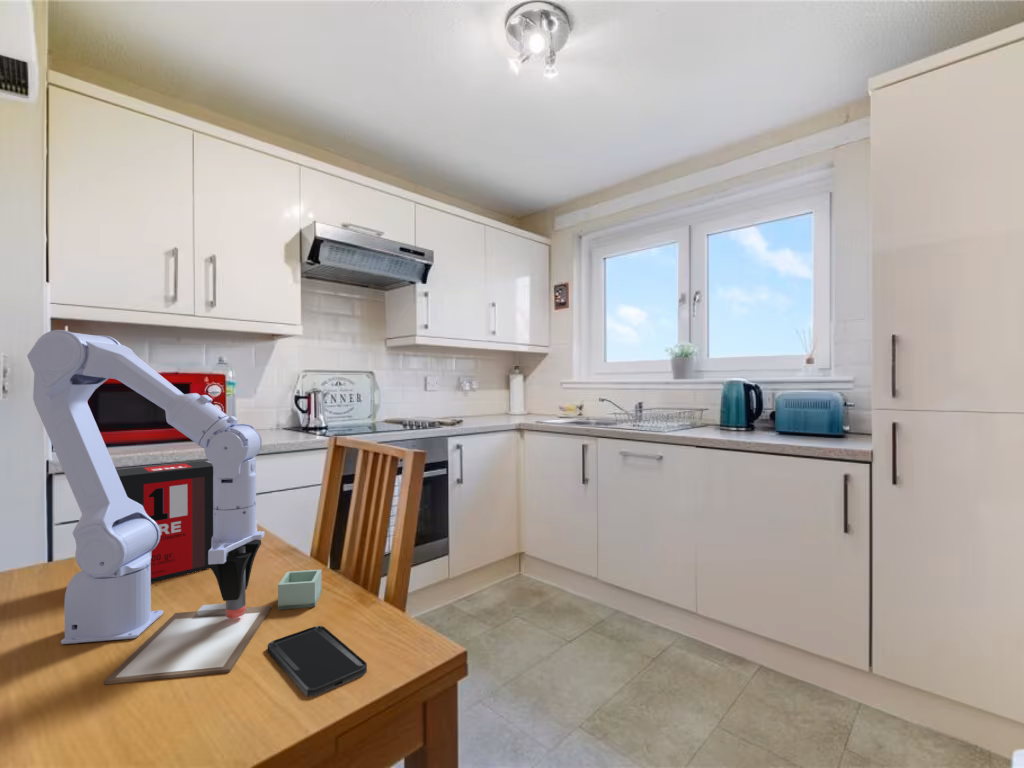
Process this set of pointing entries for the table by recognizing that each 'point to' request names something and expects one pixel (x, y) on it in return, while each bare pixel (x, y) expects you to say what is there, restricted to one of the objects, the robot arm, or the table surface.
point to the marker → (238, 606)
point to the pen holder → (299, 589)
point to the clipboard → (192, 645)
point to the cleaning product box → (175, 513)
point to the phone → (316, 660)
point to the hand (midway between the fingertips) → (235, 594)
